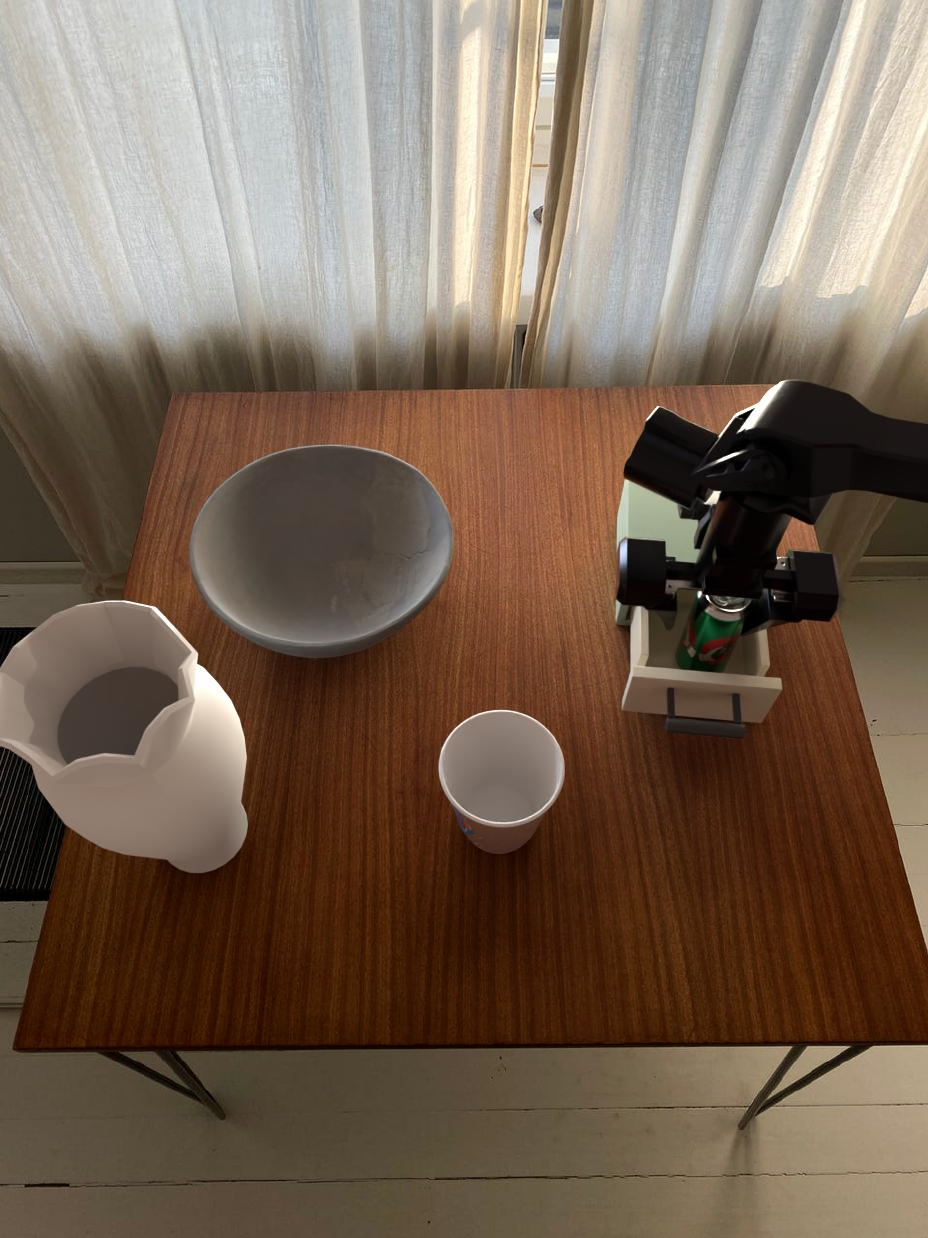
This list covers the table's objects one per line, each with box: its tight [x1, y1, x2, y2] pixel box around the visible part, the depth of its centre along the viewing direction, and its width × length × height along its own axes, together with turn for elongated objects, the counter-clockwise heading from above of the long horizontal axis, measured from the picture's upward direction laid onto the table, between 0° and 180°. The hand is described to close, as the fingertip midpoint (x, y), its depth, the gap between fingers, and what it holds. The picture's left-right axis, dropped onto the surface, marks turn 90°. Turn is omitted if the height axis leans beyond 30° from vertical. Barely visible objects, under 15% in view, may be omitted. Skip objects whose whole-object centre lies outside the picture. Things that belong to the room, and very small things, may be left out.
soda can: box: [675, 591, 754, 673], centre depth 83 cm, size 5×5×12 cm
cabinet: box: [615, 478, 779, 627], centre depth 93 cm, size 15×15×9 cm
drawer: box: [621, 589, 783, 741], centre depth 85 cm, size 18×14×7 cm
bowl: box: [189, 444, 455, 659], centre depth 91 cm, size 26×26×10 cm
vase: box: [0, 600, 249, 874], centre depth 69 cm, size 15×15×29 cm
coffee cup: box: [438, 709, 566, 855], centre depth 76 cm, size 10×10×12 cm
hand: (704, 629), depth 83 cm, fingers open, 6 cm apart
